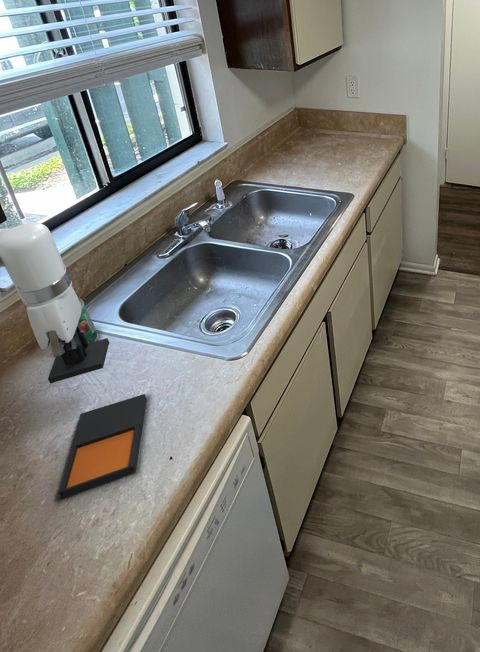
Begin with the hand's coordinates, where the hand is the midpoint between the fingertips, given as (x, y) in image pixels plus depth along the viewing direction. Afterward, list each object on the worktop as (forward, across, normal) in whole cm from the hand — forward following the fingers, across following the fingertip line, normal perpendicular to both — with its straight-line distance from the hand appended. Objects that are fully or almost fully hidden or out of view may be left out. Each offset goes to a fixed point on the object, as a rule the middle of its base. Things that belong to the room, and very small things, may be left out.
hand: (77, 354), depth 89 cm
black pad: (+2, 0, 0) cm, 2 cm away
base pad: (+15, +11, +3) cm, 19 cm away
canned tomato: (+15, -21, -8) cm, 27 cm away
